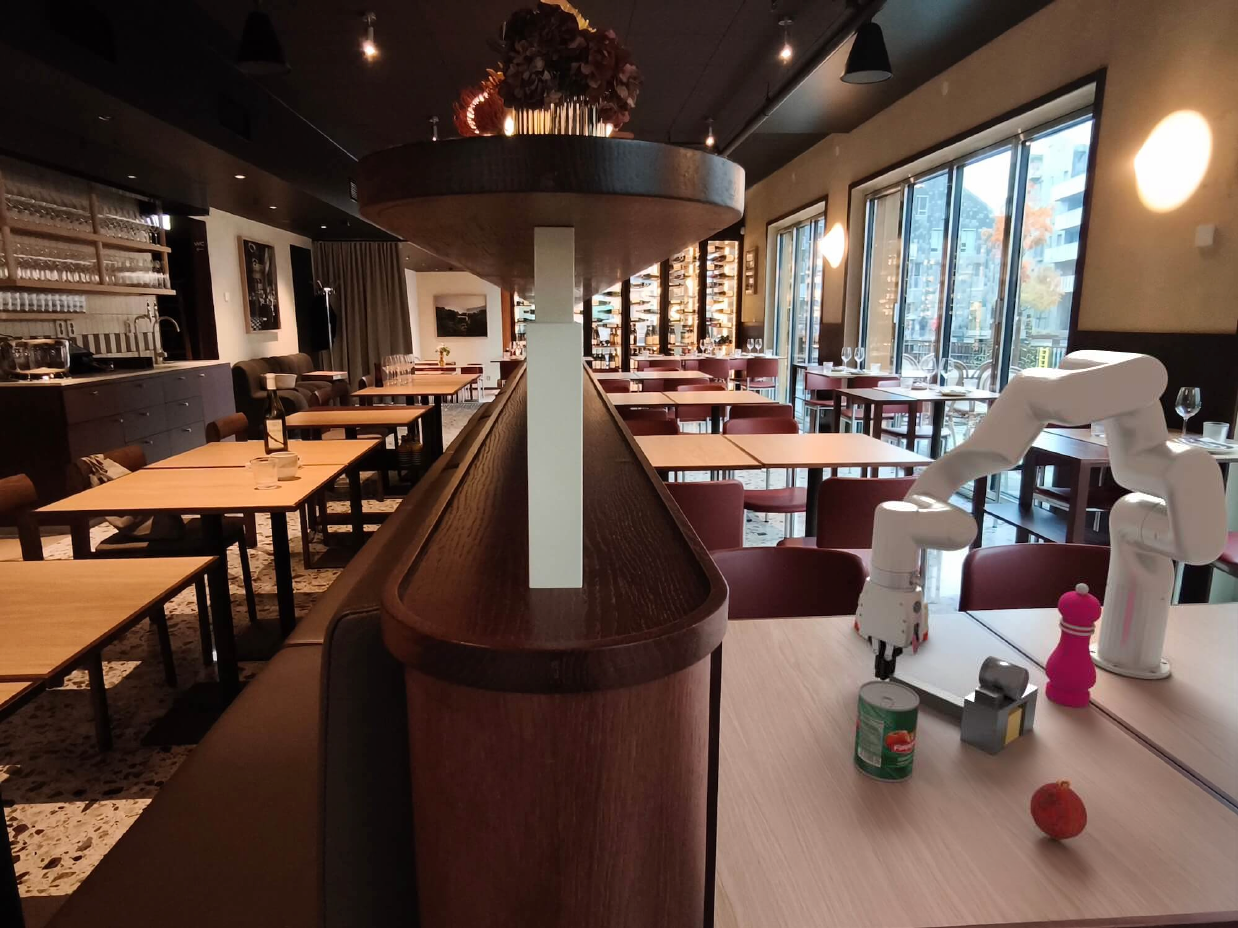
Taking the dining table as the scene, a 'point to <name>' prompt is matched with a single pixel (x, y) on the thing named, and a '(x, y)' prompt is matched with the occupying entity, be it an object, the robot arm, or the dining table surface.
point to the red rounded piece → (1058, 810)
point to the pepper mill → (1073, 650)
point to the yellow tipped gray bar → (950, 702)
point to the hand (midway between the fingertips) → (884, 676)
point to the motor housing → (997, 705)
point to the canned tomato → (886, 730)
